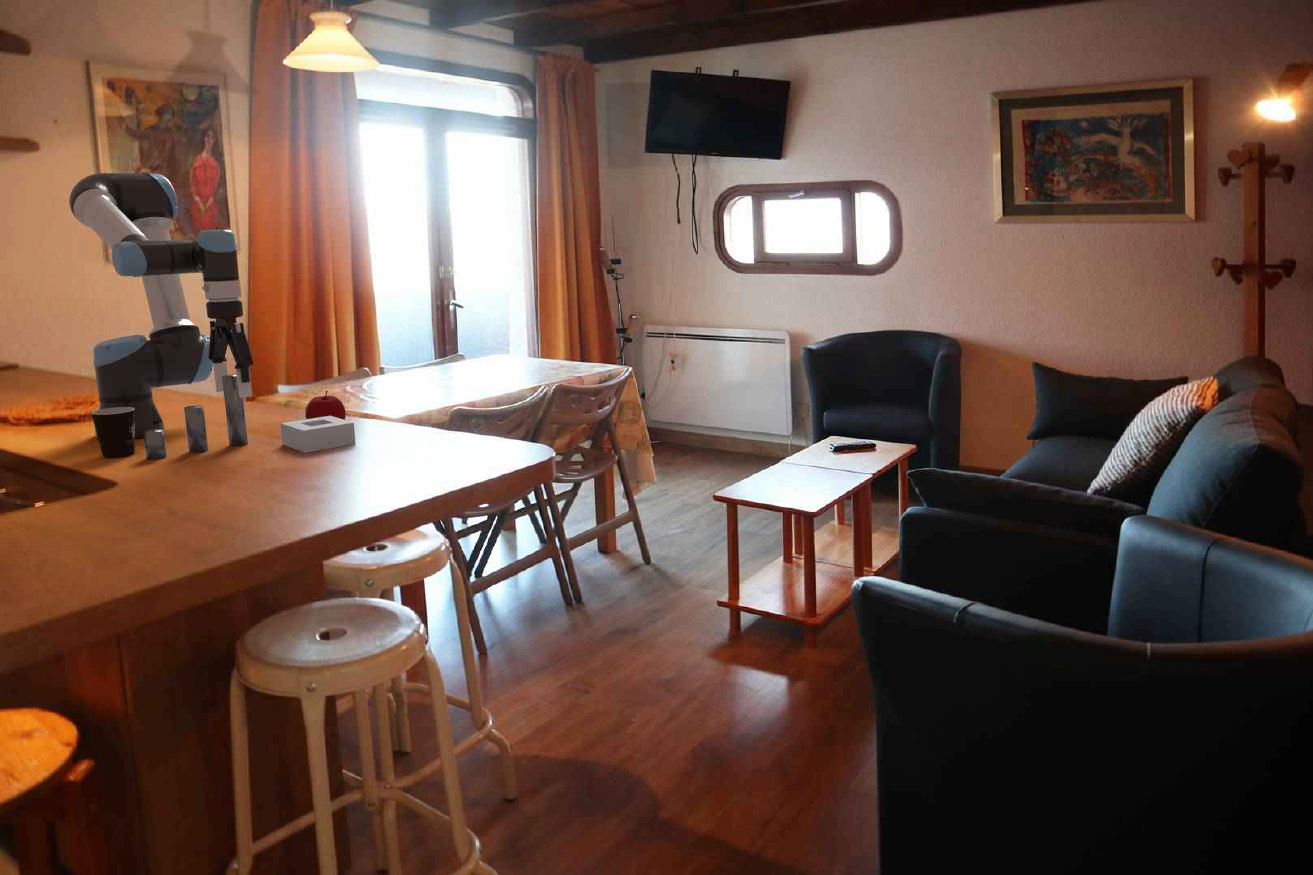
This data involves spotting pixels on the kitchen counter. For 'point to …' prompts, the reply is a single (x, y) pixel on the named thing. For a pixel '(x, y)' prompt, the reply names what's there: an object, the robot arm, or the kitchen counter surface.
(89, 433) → the kitchen counter surface
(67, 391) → the kitchen counter surface
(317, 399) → the apple
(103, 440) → the coffee mug
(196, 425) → the medium pin
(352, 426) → the hole block
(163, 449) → the short pin
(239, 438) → the long pin
